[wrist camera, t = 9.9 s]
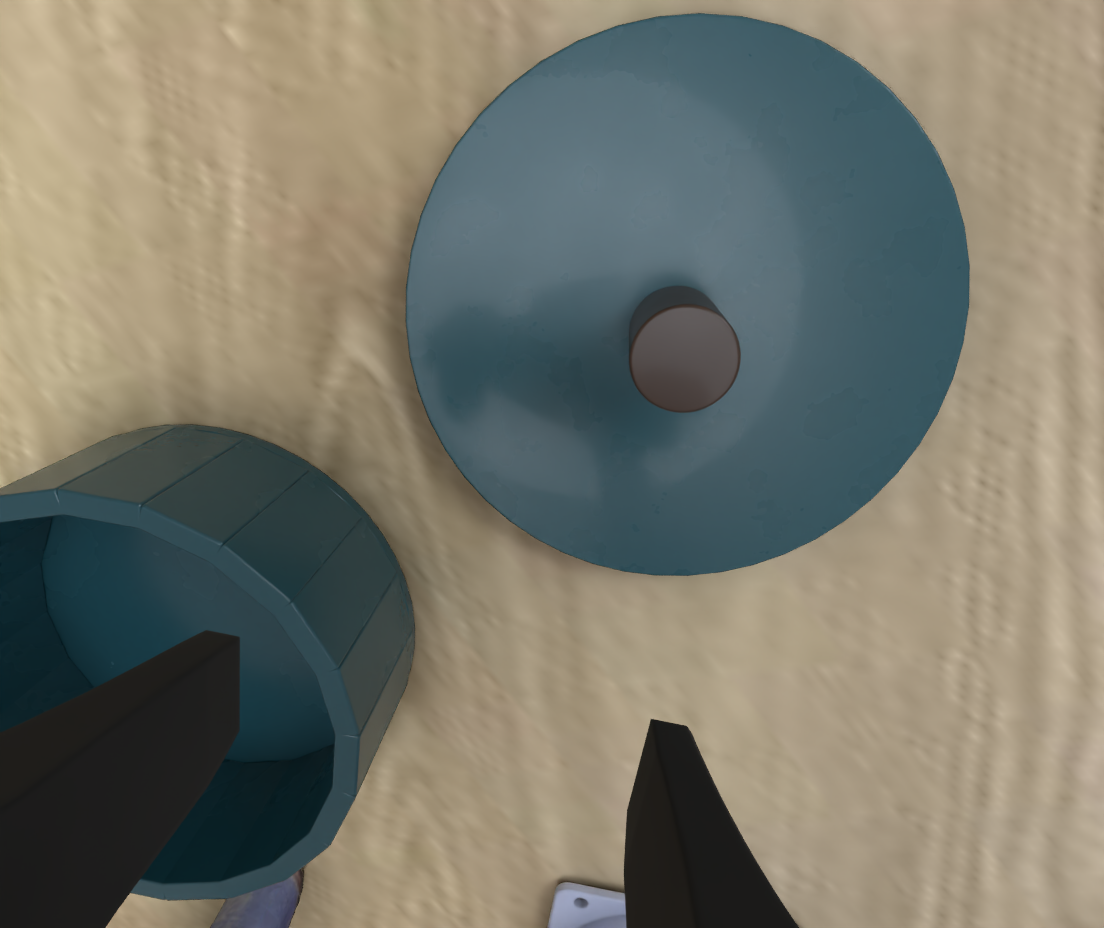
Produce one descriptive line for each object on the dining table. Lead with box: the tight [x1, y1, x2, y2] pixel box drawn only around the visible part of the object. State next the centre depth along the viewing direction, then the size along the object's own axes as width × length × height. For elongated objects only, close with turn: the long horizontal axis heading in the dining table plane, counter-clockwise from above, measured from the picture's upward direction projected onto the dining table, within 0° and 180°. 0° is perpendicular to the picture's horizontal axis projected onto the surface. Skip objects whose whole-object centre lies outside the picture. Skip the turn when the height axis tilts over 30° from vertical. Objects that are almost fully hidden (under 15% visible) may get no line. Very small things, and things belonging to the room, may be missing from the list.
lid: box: [406, 13, 970, 576], centre depth 18 cm, size 14×14×4 cm
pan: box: [0, 424, 415, 900], centre depth 22 cm, size 13×13×6 cm
